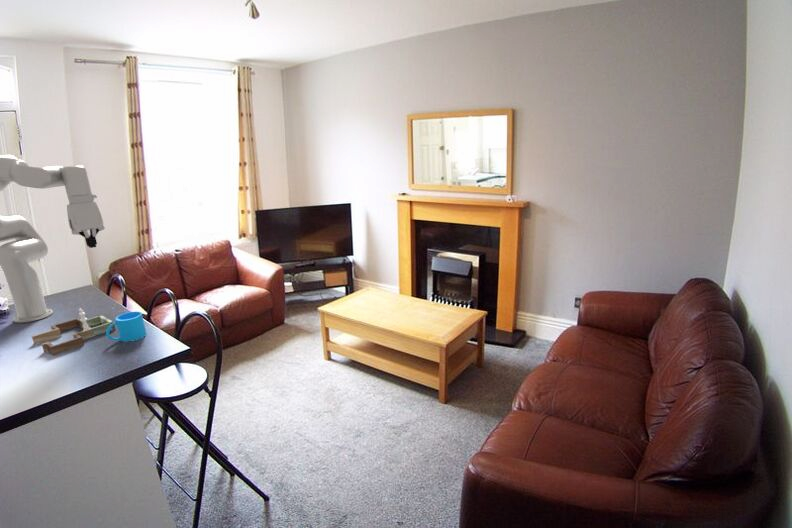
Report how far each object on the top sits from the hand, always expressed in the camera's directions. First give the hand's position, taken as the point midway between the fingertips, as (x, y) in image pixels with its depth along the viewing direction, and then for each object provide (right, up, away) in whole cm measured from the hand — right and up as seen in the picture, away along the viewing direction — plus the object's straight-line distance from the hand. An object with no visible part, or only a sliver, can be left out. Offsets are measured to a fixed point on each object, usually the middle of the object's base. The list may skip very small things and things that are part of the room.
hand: (92, 246), depth 170 cm
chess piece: (+3, -32, -7) cm, 33 cm away
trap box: (-1, -33, -10) cm, 35 cm away
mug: (+21, -34, -12) cm, 42 cm away
